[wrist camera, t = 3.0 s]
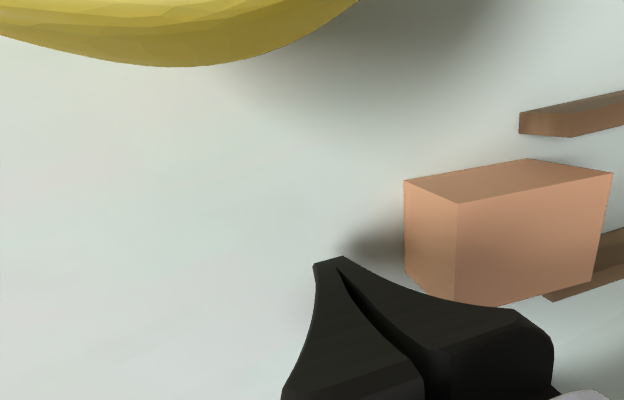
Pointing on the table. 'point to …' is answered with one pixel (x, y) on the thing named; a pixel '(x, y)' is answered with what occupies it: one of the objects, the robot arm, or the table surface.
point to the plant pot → (166, 27)
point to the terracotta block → (504, 230)
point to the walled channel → (570, 123)
